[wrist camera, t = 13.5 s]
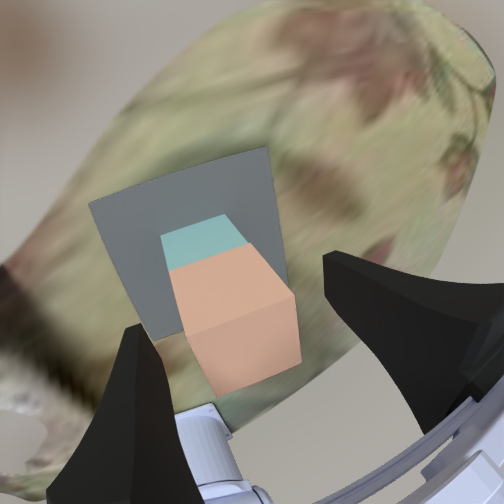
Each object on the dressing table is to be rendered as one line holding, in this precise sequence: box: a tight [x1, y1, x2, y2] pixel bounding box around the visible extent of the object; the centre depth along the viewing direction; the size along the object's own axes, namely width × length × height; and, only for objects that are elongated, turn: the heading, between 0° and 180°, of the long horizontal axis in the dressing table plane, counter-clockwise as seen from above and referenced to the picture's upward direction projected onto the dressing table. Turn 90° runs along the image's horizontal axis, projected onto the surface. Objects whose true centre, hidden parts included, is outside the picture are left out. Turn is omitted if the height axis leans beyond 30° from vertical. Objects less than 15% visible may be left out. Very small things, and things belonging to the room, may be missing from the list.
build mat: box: [88, 147, 289, 341], centre depth 21 cm, size 12×12×1 cm
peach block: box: [169, 243, 302, 397], centre depth 15 cm, size 4×4×5 cm
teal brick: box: [160, 214, 248, 271], centre depth 19 cm, size 4×4×5 cm
